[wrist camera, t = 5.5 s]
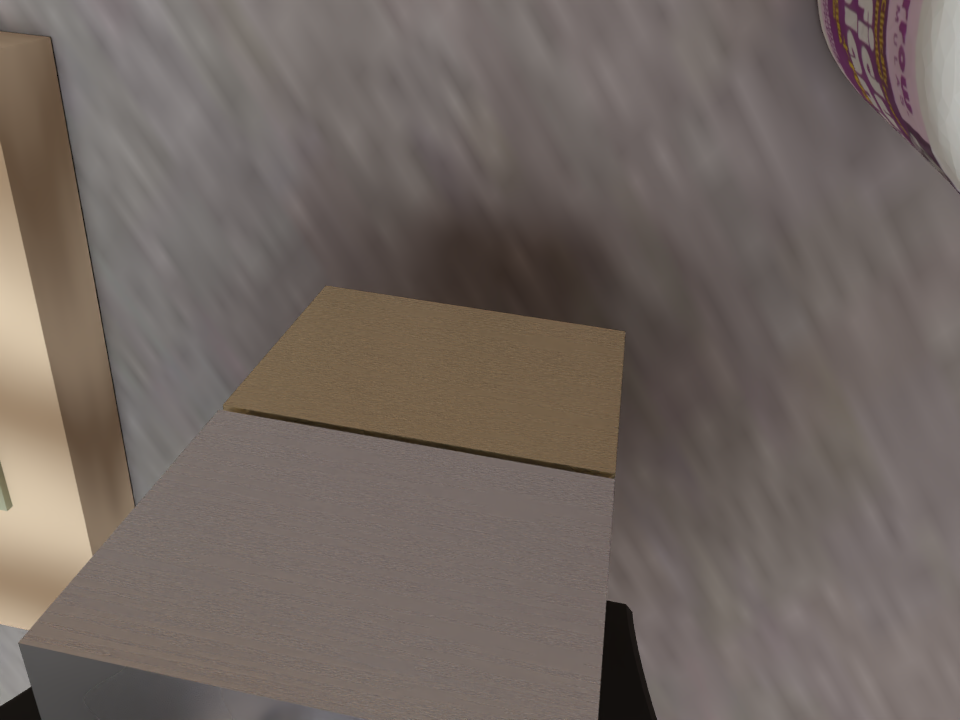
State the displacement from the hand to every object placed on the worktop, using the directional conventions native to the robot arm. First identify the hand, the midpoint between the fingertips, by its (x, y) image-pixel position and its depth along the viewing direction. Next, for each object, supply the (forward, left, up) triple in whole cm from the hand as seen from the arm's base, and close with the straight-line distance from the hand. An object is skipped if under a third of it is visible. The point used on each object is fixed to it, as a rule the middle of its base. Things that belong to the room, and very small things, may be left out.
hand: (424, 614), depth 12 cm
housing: (0, 0, -2) cm, 2 cm away
